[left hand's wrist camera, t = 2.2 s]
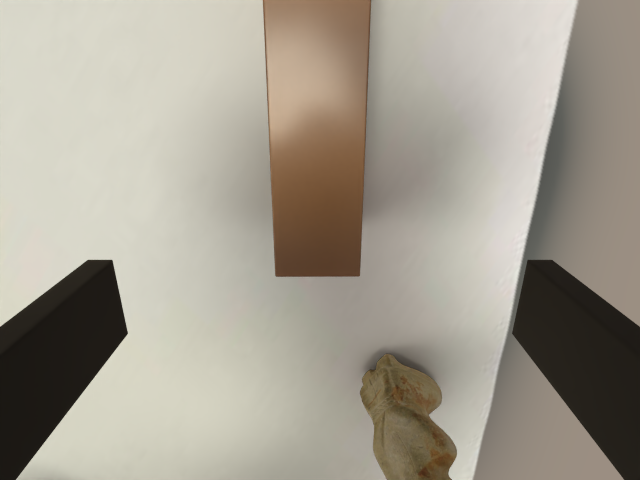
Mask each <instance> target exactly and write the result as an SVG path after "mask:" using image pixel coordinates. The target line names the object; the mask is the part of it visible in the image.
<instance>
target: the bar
mask: <svg viewBox="0 0 640 480" xmlns="http://www.w3.org/2000/svg"><path fill="white" fill-rule="evenodd" d="M263 12H264V34H265V56H266V79H267V101H268V123H269V145H270V167H271V189H272V211H273V233H274V256H275V276H276V277H306V276H360V261H361V237H362V212H363V187H364V163H365V138H366V113H367V88H368V64H369V39H370V14H371V0H263Z"/></svg>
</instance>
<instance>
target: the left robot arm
mask: <svg viewBox="0 0 640 480" xmlns="http://www.w3.org/2000/svg"><path fill="white" fill-rule="evenodd" d="M127 334H128V332H127V327H126V323H125V318H124V313H123V308H122V304H121V299H120V294H119V289H118V285H117V280H116V275H115V270H114V266H113V261H112V260H87V261H86V262H85V263H83V264H82V265H81V266H79V267H78V268H77V269H76V270H74V271H73V272H72V273H70V274H69V275H68V276H66V277H65V278H64V279H62V280H61V281H60V282H58V283H57V284H56V285H55V286H53V287H52V288H51V289H49V290H48V291H47V292H45V293H44V294H43V295H41V296H40V297H39V298H37V299H36V300H35V301H34V302H32V303H31V304H30V305H28V306H27V307H26V308H24V309H23V310H22V311H20V312H19V313H18V314H17V315H15V316H14V317H13V318H11V319H10V320H9V321H7V322H6V323H5V324H3V325H2V326H1V327H0V480H16V479H17V477H18V476H19V475H20V473H21V472H22V471H23V470H24V468H25V467H26V466H27V464H28V463H29V462H30V460H31V459H32V458H33V456H34V455H35V454H36V453H37V451H38V450H39V449H40V447H41V446H42V445H43V443H44V442H45V441H46V440H47V438H48V437H49V436H50V434H51V433H52V432H53V430H54V429H55V428H56V426H57V425H58V424H59V423H60V421H61V420H62V419H63V417H64V416H65V415H66V413H67V412H68V411H69V410H70V408H71V407H72V406H73V404H74V403H75V402H76V400H77V399H78V398H79V397H80V395H81V394H82V393H83V391H84V390H85V389H86V387H87V386H88V385H89V383H90V382H91V381H92V380H93V378H94V377H95V376H96V374H97V373H98V372H99V370H100V369H101V368H102V367H103V365H104V364H105V363H106V361H107V360H108V359H109V357H110V356H111V355H112V354H113V352H114V351H115V350H116V348H117V347H118V346H119V344H120V343H121V342H122V340H123V339H124V338H125V337H126V335H127ZM512 334H513V335H514V336H515V338H516V339H517V340H518V342H519V343H520V344H521V346H522V347H523V348H524V350H525V351H526V352H527V353H528V355H529V356H530V357H531V359H532V360H533V361H534V363H535V364H536V365H537V366H538V368H539V369H540V370H541V372H542V373H543V374H544V376H545V377H546V378H547V379H548V381H549V382H550V383H551V385H552V386H553V387H554V389H555V390H556V391H557V393H558V394H559V395H560V396H561V398H562V399H563V400H564V402H565V403H566V404H567V406H568V407H569V408H570V410H571V411H572V412H573V413H574V415H575V416H576V417H577V419H578V420H579V421H580V423H581V424H582V425H583V426H584V428H585V429H586V430H587V432H588V433H589V434H590V436H591V437H592V438H593V440H594V441H595V442H596V443H597V445H598V446H599V447H600V449H601V450H602V451H603V452H604V454H605V455H606V456H607V458H608V459H609V460H610V462H611V463H612V464H613V466H614V467H615V468H616V470H617V471H618V472H619V473H620V475H621V476H622V477H623V479H624V480H640V327H639V326H638V325H637V324H635V323H634V322H633V321H631V320H630V319H629V318H627V317H626V316H625V315H623V314H622V313H621V312H620V311H618V310H617V309H616V308H614V307H613V306H612V305H610V304H609V303H608V302H606V301H605V300H604V299H602V298H601V297H600V296H599V295H597V294H596V293H595V292H593V291H592V290H591V289H589V288H588V287H587V286H585V285H584V284H583V283H582V282H580V281H579V280H578V279H576V278H575V277H574V276H572V275H571V274H570V273H568V272H567V271H566V270H564V269H563V268H562V267H561V266H559V265H558V264H557V263H555V262H554V261H553V260H528V261H527V266H526V270H525V275H524V280H523V285H522V289H521V294H520V299H519V304H518V308H517V313H516V318H515V323H514V327H513V332H512Z"/></svg>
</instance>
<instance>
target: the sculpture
mask: <svg viewBox="0 0 640 480" xmlns="http://www.w3.org/2000/svg"><path fill="white" fill-rule="evenodd" d="M362 381H363V387H362V388H361V391H360V395H361V398H362V402H363V404H364V406H365V408H366V410H367V412H368V414H369V415H370V417H371V418H372V420H373V424H374V440H373V451H374V454H375V457H376V459H377V461H378V463H379V465H380V467H381V469H382V471H383V473H384V475H385V477H386V479H387V480H452V479H451V478H450V477H449V475H448V472H449V469H450V467H451V465H452V464H453V462H454V460H455V458H456V456H457V450H456V447H455V445H454V443H453V441H452V440H451V438H450V437H449V436H448V435H447V434H446V433H445V432H444V431H443V430H442V429H441V428H440V427H439V426H437V425H436V424H435V423H434V422H433V421H432V420H431V419H430V417H429V414H430V413H431V412H432V411H434V410H435V409H436V408H437V407H438V406H439V405H440V404H441V401H442V394H441V390H440V388H439V386H438V385H437V383H436V382H435V381H434V380H433V379H432V378H430V377H429V376H428V375H426V374H424V373H422V372H420V371H418V370H415V369H413V368H410V367H407V366H404V365H402V364H401V363H399V362H398V361H397V360H396V359H395V357H394V356H392V355H390V354H385V355H384V356H383V357H382V358H381V359H380V360H379V361H378V362H377V366H376V369H375V370H369V371H368V372H367V373H366V374H365V375H364V376H363V378H362Z"/></svg>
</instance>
